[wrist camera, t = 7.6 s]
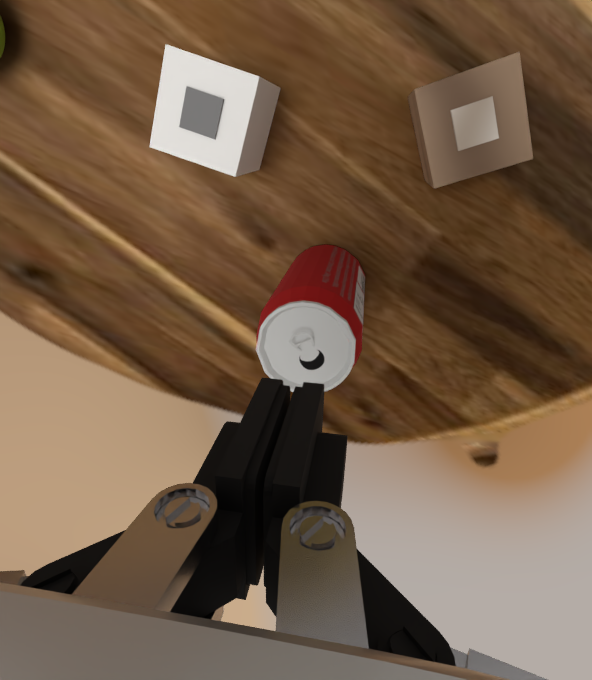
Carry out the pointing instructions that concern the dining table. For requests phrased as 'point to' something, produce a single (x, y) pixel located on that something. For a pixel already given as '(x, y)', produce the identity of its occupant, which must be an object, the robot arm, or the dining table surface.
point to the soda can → (314, 319)
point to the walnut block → (472, 122)
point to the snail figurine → (2, 37)
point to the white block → (212, 113)
